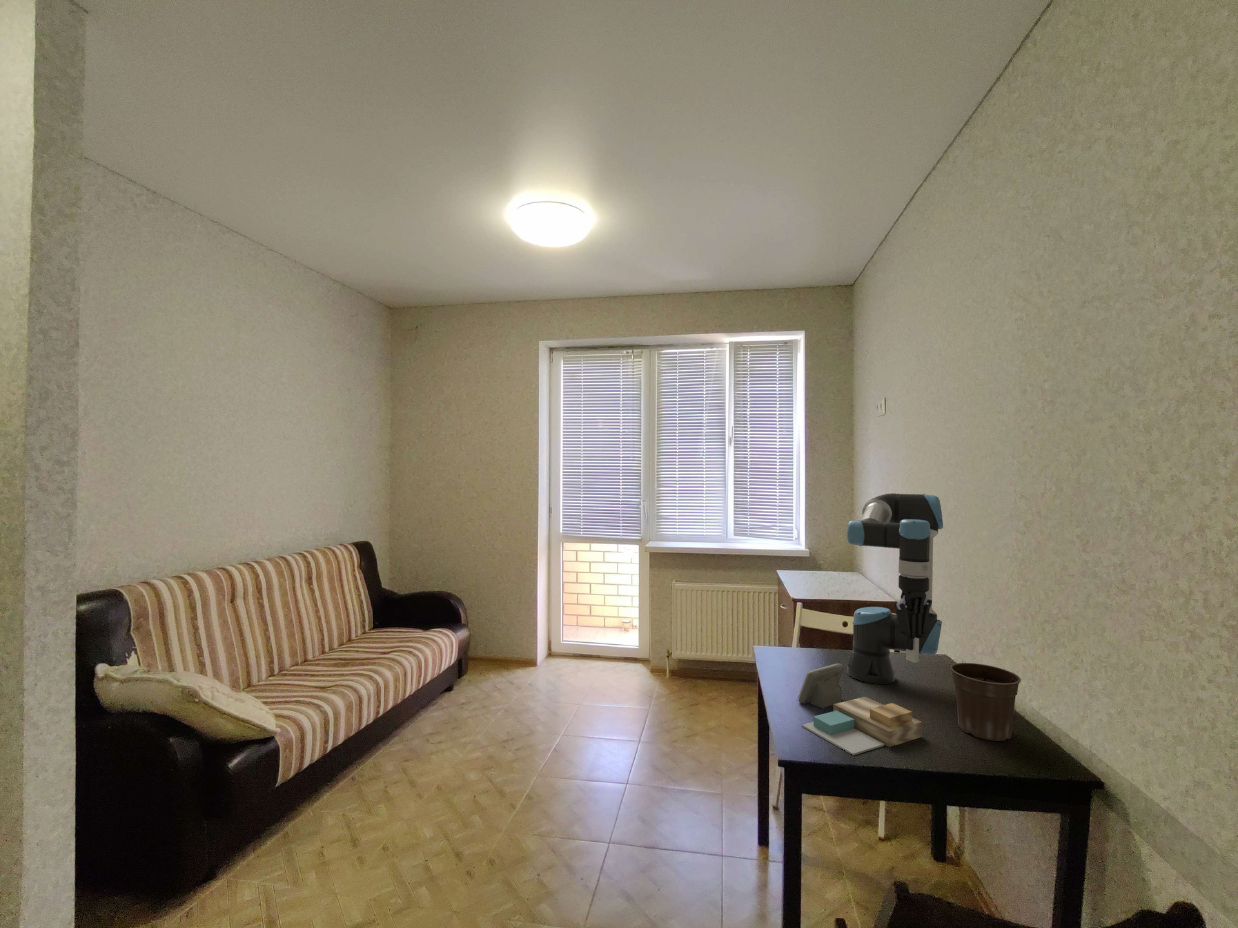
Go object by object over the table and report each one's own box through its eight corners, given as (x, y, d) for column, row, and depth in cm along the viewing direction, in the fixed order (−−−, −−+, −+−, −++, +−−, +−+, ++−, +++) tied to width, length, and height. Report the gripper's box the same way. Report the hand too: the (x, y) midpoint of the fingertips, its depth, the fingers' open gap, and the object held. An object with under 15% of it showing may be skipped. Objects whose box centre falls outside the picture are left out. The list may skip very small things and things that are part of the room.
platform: (864, 710, 165) (864, 696, 165) (921, 736, 149) (922, 721, 149) (833, 718, 159) (833, 704, 159) (889, 747, 143) (889, 731, 143)
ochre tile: (892, 711, 155) (892, 702, 155) (912, 720, 150) (912, 711, 150) (869, 717, 151) (869, 708, 151) (889, 727, 146) (889, 717, 146)
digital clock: (831, 692, 178) (832, 658, 179) (853, 703, 170) (854, 668, 170) (790, 698, 172) (791, 664, 173) (810, 711, 164) (811, 674, 164)
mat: (831, 718, 159) (831, 716, 159) (884, 745, 144) (884, 743, 144) (801, 726, 154) (801, 724, 154) (853, 755, 139) (853, 753, 139)
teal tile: (836, 719, 158) (836, 710, 158) (854, 728, 152) (854, 719, 152) (813, 725, 154) (813, 716, 154) (830, 734, 148) (830, 725, 148)
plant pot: (939, 715, 163) (940, 659, 163) (1001, 720, 160) (1002, 664, 160) (964, 742, 147) (965, 680, 147) (1032, 748, 144) (1033, 686, 144)
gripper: (910, 580, 149) (908, 668, 149) (942, 576, 154) (940, 662, 154) (885, 574, 156) (884, 659, 156) (917, 571, 161) (915, 653, 161)
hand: (912, 660), depth 155 cm, fingers closed
